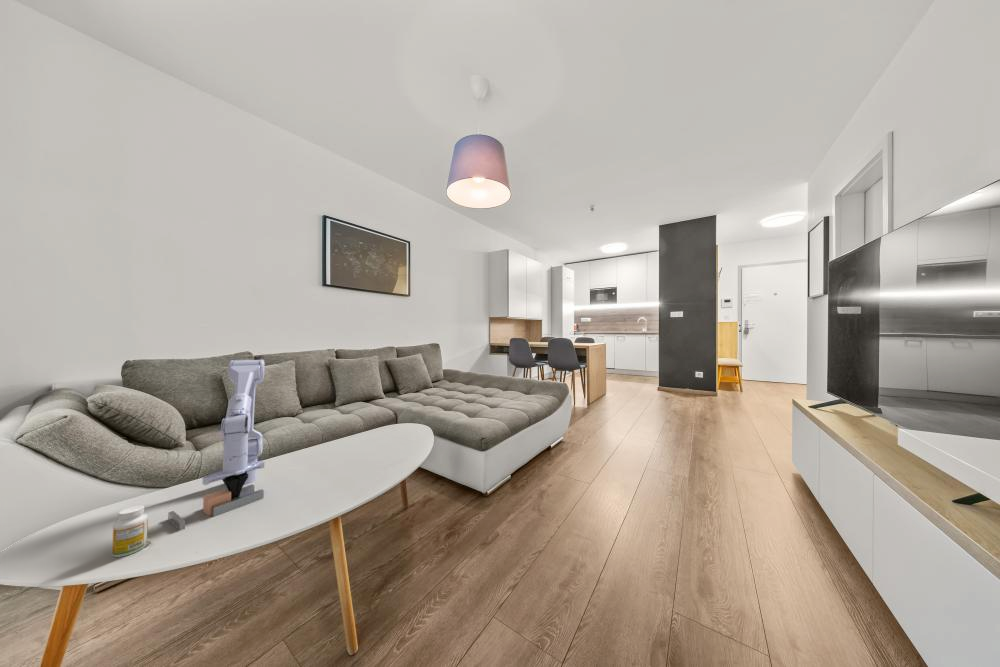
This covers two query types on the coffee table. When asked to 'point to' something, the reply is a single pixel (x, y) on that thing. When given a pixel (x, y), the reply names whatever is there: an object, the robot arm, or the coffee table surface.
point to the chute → (223, 505)
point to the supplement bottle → (130, 531)
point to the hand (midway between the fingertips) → (234, 499)
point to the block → (215, 499)
